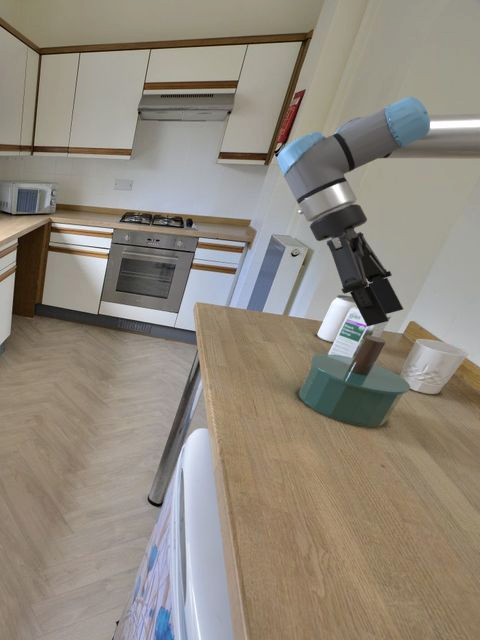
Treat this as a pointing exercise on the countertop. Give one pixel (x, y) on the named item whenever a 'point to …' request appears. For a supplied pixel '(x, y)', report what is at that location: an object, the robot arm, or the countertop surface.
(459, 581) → the countertop surface
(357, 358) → the bowl lid
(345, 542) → the countertop surface
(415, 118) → the robot arm
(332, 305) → the can
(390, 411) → the bowl
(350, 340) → the syrup box
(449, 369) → the white cup
